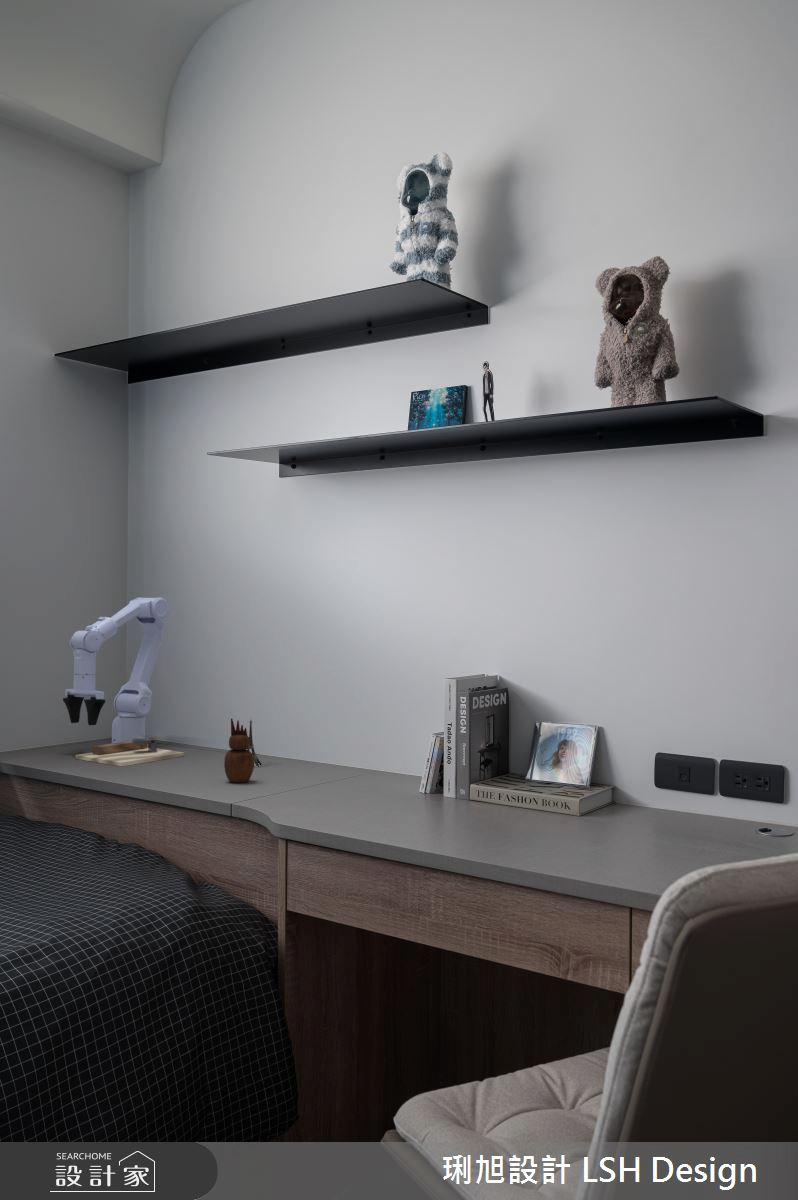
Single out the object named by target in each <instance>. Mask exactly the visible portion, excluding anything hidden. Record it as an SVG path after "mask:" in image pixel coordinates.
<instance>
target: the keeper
mask: <svg viewBox="0 0 798 1200" xmlns="http://www.w3.org/2000/svg"><path fill="white" fill-rule="evenodd" d="M132 743H134V744H146V743H147V744H148V751H149V752H150V753H155V752H157V749H158V747H157V746H158V744H157V743H158V741H157V739H156V738H154V737H151V738H149V737H148V738H146V737H145V739H132Z"/></svg>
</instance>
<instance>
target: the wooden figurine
mask: <svg viewBox="0 0 798 1200" xmlns="http://www.w3.org/2000/svg"><path fill="white" fill-rule="evenodd" d="M249 745H250V740H249V735H248V731H247V727H245V728H244V725H243V724H241V726H240V721H239V720H237V722H236V727H235V723H234V721H233V718H230V737H229V739H228V746H229V747H228V748H229V749H230V750H228V751H227V752H226V753H225V756H224V760H223V761H224V763H223V764H224V766H223V767H224V772H225V776H226V778H227V780H228V781H229V782H231V783H234V782H243V783H246V782H248V781H250V779H251V777H252V774H253V772H254V768H255V767H254V763H255V762H254V757H253V755H252V751H250V750H249V751H248V750H247V749H248V748H249Z"/></svg>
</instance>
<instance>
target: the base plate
mask: <svg viewBox="0 0 798 1200" xmlns="http://www.w3.org/2000/svg"><path fill="white" fill-rule="evenodd" d="M184 756H185V752H183V751H176V750H171V749H170V750H169V749H162V748H157V752H155V753H150V752H149V751H148V747H147V748H142V749H135V750H128V751H121V752H114V753H108V754H101V755H99V754H93V752H86V753H81V754H75V759H77V760H80V761H88V762H92V763H98V764H99V763H100V764H105V765H110V766H116V767H126V766H132V765H138V764H139V765H140V764H144V763H150V762H157V761H162V760H168V759H175V758H180V757H181V758H182V757H184Z"/></svg>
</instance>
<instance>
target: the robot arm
mask: <svg viewBox="0 0 798 1200" xmlns="http://www.w3.org/2000/svg"><path fill="white" fill-rule="evenodd" d="M170 612H171V609H170V607H169V605H168V603H167V600H166V599H165V598H163V597H141V596H140V597H139V596H138V597H136V598H134V599H132V600H129V603H128V604H127V605H126V606H125V607H123V608H122V609H120V610H118V611H117V612H116V613H115V614H113V615H112V616H111V617H108V616H100V617H98V618H97V621H96V622H94V623H93V624H91V625H87V626H85V629H84V630H77V631H75V632H74V633H73V635H72V636H71V639H70V640H69V646H70V648H71V650H72V655H73V688H64V696H65V697H63V698H62V701H63V703H64V704H65V706H66V710H67V711H68V716H69V720H70V723H71V724H77V723H78V724H79V722H80V719H81V718H80V716H81V708H82V704H83V702H84V705H85V707H86V712H87V724H88V726H96V725H97V723H98V719H99V716H100V713H101V710H102V709H103V707H104V705H105V703H106V699H105V691H100V690H96V676H97V675H96V673H97V671H96V668H97V651H99V650H100V648H101V646H102V644H103V643H104V642H106V641H108V640H109V639H110V638H112V637H113V636H115V635H116V634H117V632H118V628H120V627H121V626H123V625H125V624H127V623H128V622H130V621H132V620H133V619H136V621H137V622H138V623H139V625H140V626H141V627H142V628H143V629H144V631H145V633H144V634H143V638H142V641H141V645H140V648H139V650H138V653H137V656H136V660H135V662H134V666H133V669H132V670H131V671H132V672H131V674H130V677H129V680H128V681H127V682H126V683H125V684H123V685H122V686H121V687H120V690H119V692H118V693H117V694H116V695H115V697H114V699H113V708H114V709H113V710H114V711H115V712H116V713H117V716H115V717H114V718H113V721H112V723H111V744H112V743H119V742H126V741H132V739H135V737H142V739H145V738H146V717H147V716H148V713H149V712H150V710H151V707H152V697H153V691H152V690H151V689H150V688H149V683H150V680H151V678H152V674H153V671H154V669H155V668H154V667H155V665H156V662H157V659H158V655H159V653H160V648H161V646H162V643H163V641H164V637H165V634H166V630H167V628H166V627H167V621H168V617H169V614H170ZM85 698H86V699H85ZM147 747H148V743H147Z"/></svg>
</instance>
